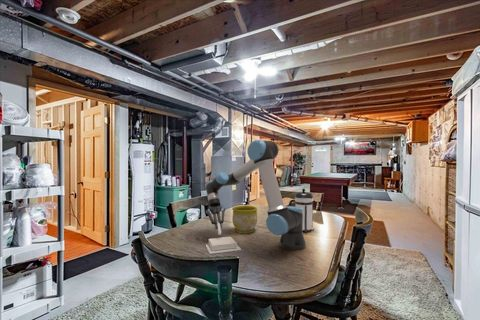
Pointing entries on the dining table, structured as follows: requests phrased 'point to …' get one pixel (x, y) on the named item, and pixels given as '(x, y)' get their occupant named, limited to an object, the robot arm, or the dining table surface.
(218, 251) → the mat
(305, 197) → the coffee press
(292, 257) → the dining table surface
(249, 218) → the flowerpot
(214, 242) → the tile
